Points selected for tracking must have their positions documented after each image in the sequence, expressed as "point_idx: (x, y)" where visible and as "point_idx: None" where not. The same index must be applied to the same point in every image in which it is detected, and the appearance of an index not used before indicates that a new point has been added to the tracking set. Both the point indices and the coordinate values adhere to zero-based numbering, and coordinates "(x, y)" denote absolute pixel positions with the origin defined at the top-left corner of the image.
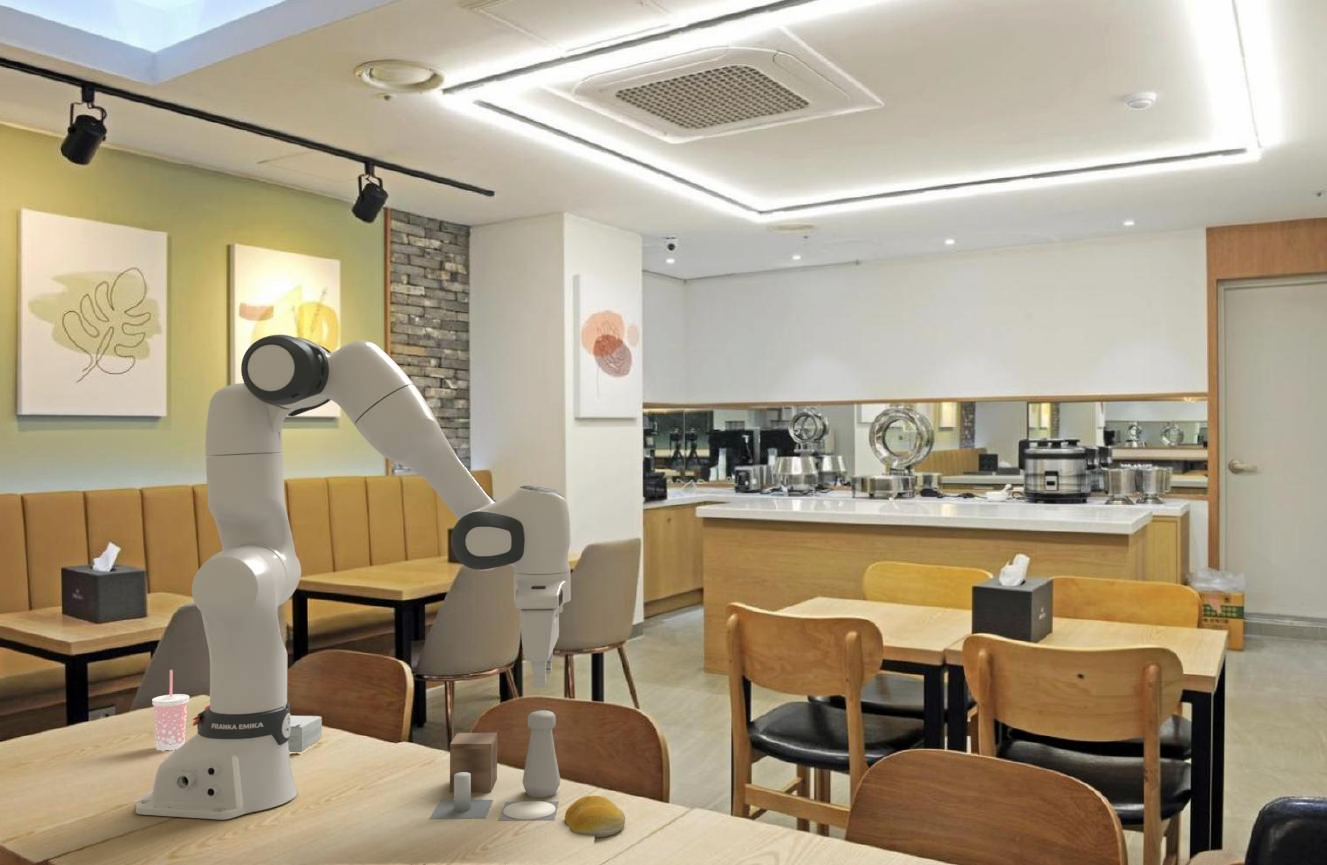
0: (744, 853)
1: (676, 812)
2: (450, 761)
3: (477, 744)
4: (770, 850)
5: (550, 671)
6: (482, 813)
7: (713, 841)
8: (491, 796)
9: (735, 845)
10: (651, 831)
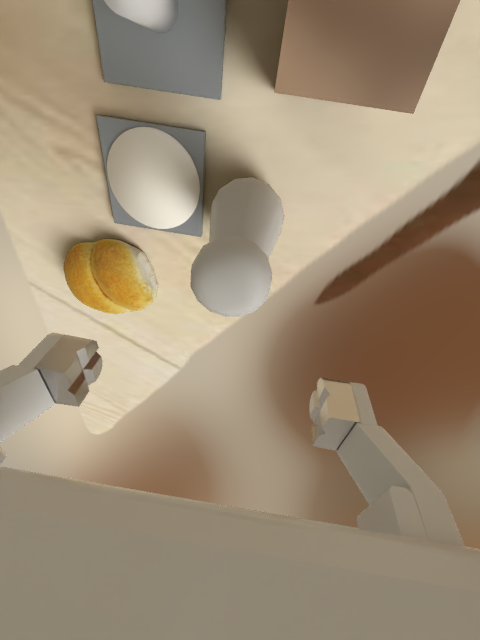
0: None
1: (171, 357)
2: None
3: (284, 25)
4: None
5: (310, 410)
6: (131, 72)
7: None
8: (270, 92)
9: None
10: (110, 326)
